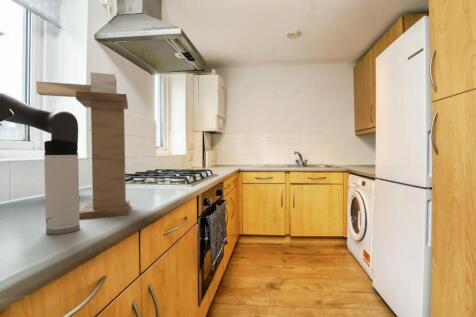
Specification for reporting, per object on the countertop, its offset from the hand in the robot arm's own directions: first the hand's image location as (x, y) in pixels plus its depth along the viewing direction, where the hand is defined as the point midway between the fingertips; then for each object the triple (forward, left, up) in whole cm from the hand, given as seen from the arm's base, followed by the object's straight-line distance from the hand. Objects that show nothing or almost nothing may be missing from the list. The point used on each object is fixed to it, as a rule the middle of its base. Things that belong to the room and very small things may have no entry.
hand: (4, 109), depth 71 cm
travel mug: (+18, +16, -29) cm, 38 cm away
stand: (0, +23, -28) cm, 37 cm away
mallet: (0, +17, +5) cm, 18 cm away
